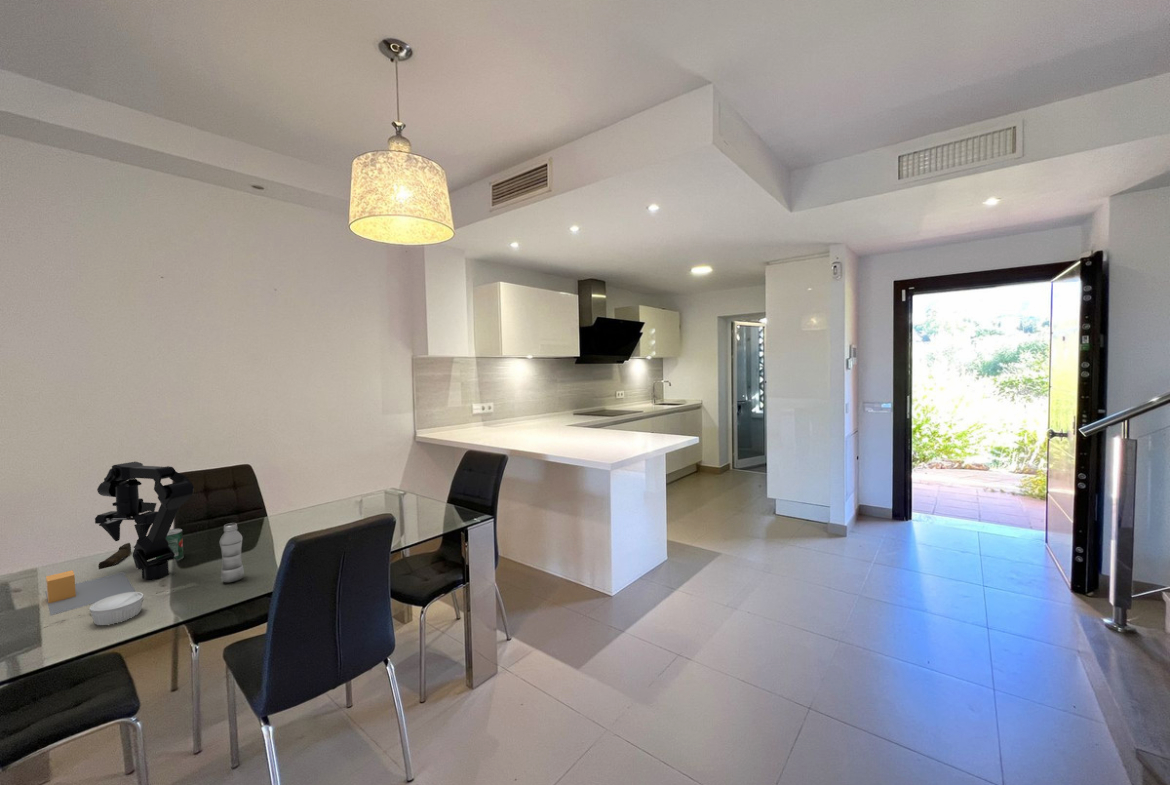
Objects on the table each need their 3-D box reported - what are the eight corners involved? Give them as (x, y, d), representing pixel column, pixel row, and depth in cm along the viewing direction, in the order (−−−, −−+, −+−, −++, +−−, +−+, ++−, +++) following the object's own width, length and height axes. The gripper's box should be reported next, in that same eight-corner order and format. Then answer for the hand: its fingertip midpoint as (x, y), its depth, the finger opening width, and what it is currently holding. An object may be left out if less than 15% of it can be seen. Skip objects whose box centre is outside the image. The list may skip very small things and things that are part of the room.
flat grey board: (136, 595, 147) (135, 591, 147) (50, 620, 132) (50, 615, 132) (123, 575, 161) (123, 571, 161) (45, 595, 147) (45, 591, 147)
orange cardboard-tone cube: (75, 596, 144) (74, 574, 143) (48, 603, 139) (47, 581, 139) (74, 591, 147) (72, 570, 147) (47, 597, 143) (46, 576, 142)
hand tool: (112, 570, 166) (112, 558, 166) (98, 572, 165) (97, 559, 164) (139, 551, 184) (138, 540, 183) (126, 553, 182) (125, 541, 182)
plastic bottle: (239, 574, 162) (236, 520, 161) (248, 579, 158) (245, 523, 157) (217, 582, 156) (214, 525, 155) (226, 586, 153) (223, 529, 152)
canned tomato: (150, 563, 172) (149, 535, 171) (172, 555, 179) (171, 528, 179) (167, 564, 170) (165, 536, 170) (189, 556, 178) (187, 529, 177)
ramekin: (145, 617, 134) (144, 599, 134) (90, 633, 126) (89, 615, 126) (142, 604, 142) (142, 587, 142) (90, 618, 134) (89, 601, 133)
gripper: (174, 491, 167) (176, 532, 168) (125, 491, 167) (128, 532, 168) (144, 500, 156) (146, 544, 157) (92, 500, 156) (94, 544, 157)
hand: (129, 540), depth 160 cm, fingers open, 9 cm apart
